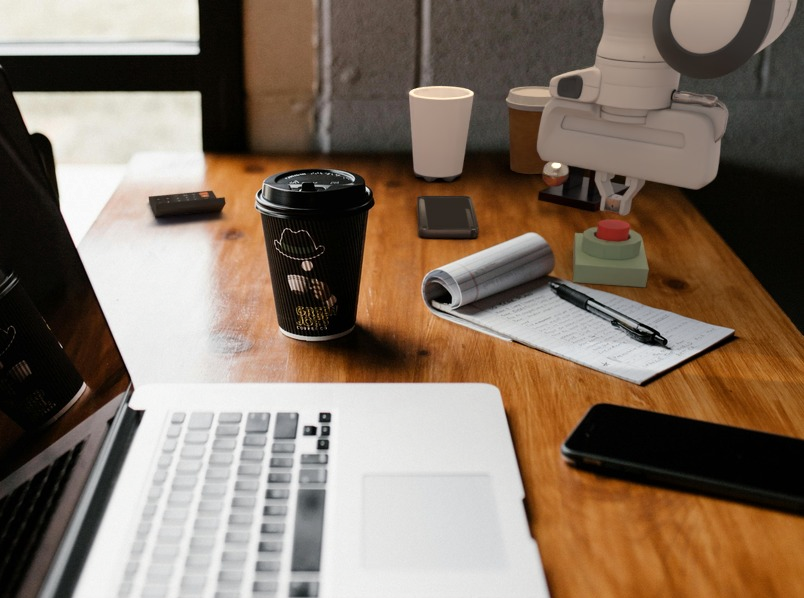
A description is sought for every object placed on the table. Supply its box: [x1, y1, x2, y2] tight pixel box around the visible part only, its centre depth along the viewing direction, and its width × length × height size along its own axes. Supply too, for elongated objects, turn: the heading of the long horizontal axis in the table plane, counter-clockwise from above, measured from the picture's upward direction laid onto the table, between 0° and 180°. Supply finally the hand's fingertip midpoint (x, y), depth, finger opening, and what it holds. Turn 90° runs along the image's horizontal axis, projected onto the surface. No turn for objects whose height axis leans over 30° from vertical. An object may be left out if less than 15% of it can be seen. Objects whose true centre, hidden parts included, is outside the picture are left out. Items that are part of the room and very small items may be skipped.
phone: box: [416, 194, 480, 239], centre depth 118 cm, size 8×1×15 cm
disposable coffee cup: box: [505, 86, 554, 175], centre depth 137 cm, size 10×10×12 cm
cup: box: [408, 85, 475, 183], centre depth 133 cm, size 10×10×13 cm
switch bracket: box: [537, 165, 630, 212], centre depth 124 cm, size 11×9×13 cm
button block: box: [572, 226, 650, 288], centre depth 101 cm, size 11×8×4 cm
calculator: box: [148, 190, 226, 218], centre depth 122 cm, size 9×12×3 cm
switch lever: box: [541, 162, 569, 187], centre depth 120 cm, size 14×4×4 cm
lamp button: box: [596, 218, 631, 242], centre depth 100 cm, size 4×4×2 cm
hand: (614, 212), depth 99 cm, fingers closed
